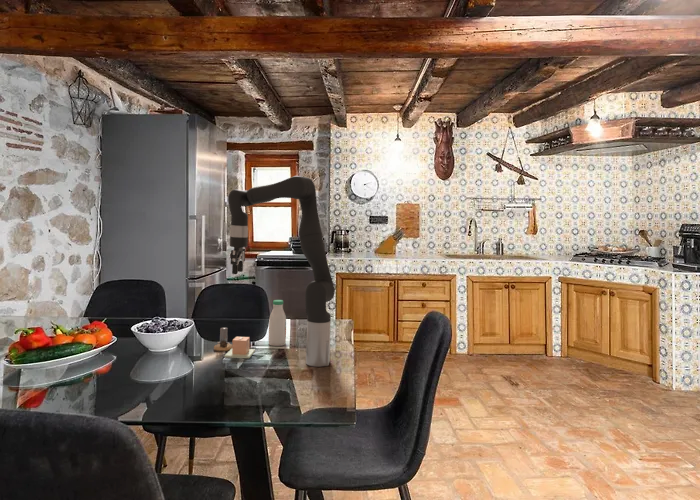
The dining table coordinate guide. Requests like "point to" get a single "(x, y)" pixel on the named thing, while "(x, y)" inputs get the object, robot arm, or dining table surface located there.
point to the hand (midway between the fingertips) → (237, 272)
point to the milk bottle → (277, 324)
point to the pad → (240, 354)
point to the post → (223, 342)
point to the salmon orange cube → (240, 345)
